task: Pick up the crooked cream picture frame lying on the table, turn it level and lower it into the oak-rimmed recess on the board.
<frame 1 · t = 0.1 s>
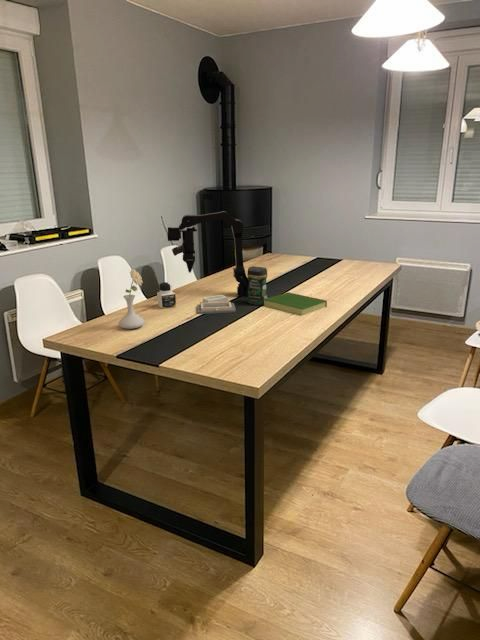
hand: (189, 270, 251), 15 cm above the table, tool pointing down, fingers open, 9 cm apart
coffee jar: (257, 303, 243), on the table
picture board: (216, 309, 234), on the table
medicine bottle: (167, 307, 240), on the table
hardcover book: (294, 307, 236), on the table
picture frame: (215, 303, 246), on the table
flower in vase: (133, 326, 211), on the table
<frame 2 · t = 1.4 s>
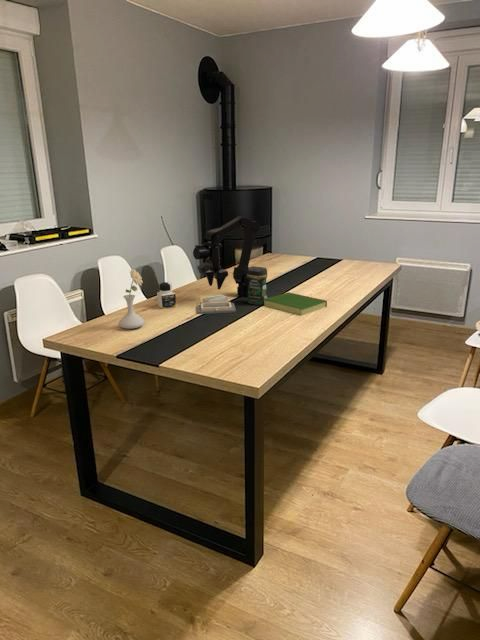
hand: (214, 287, 243), 8 cm above the table, tool pointing down, fingers open, 9 cm apart
nothing on the table moved.
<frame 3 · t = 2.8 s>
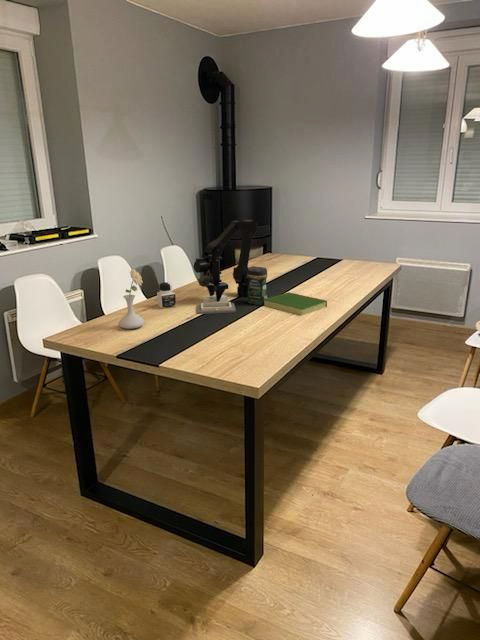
hand: (215, 300, 245), 1 cm above the table, tool pointing down, fingers closed on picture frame, 6 cm apart
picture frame: (215, 302, 246), on the table, touching gripper
everything else where it was.
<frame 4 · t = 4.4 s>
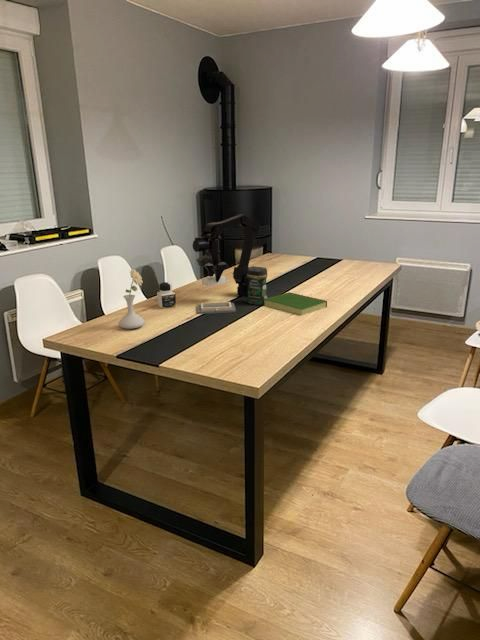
hand: (214, 280, 242), 11 cm above the table, tool pointing down, fingers closed on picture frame, 6 cm apart
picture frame: (214, 283, 243), point 10 cm above the table, touching gripper
everything else where it was.
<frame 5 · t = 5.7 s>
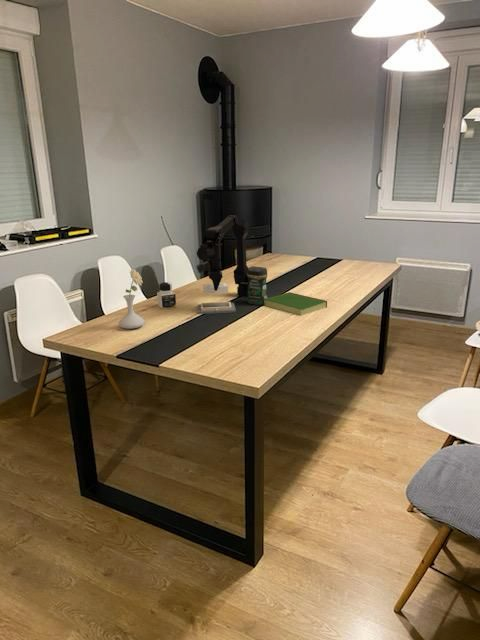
hand: (215, 288, 231), 10 cm above the table, tool pointing down, fingers closed on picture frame, 6 cm apart
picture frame: (215, 291, 231), point 9 cm above the table, touching gripper
everything else where it was.
when the fingers open (4 cm above the table, at t = 7.6 s): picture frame drops 1 cm, resting on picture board.
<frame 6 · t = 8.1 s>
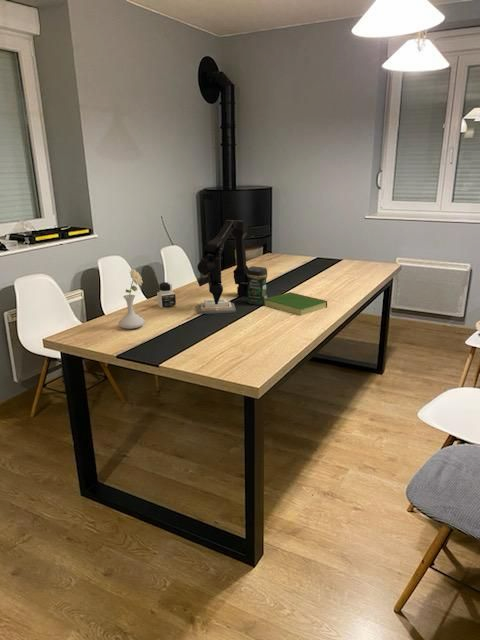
hand: (215, 301, 233), 4 cm above the table, tool pointing down, fingers open, 9 cm apart
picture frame: (216, 307, 233), point 1 cm above the table, touching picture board
everything else where it was.
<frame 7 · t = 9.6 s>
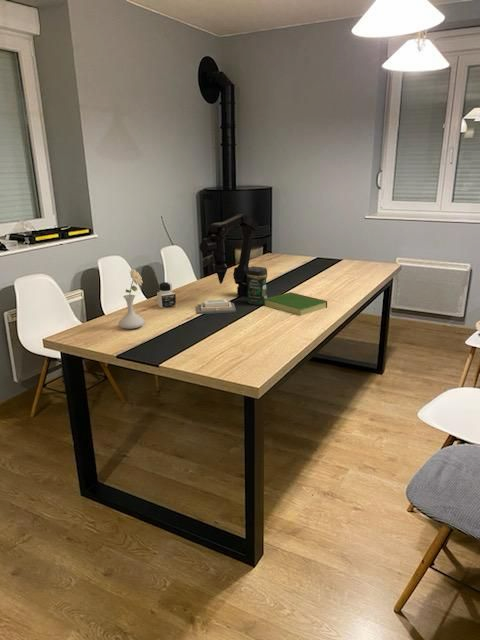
hand: (220, 281, 240), 11 cm above the table, tool pointing down, fingers open, 9 cm apart
nothing on the table moved.
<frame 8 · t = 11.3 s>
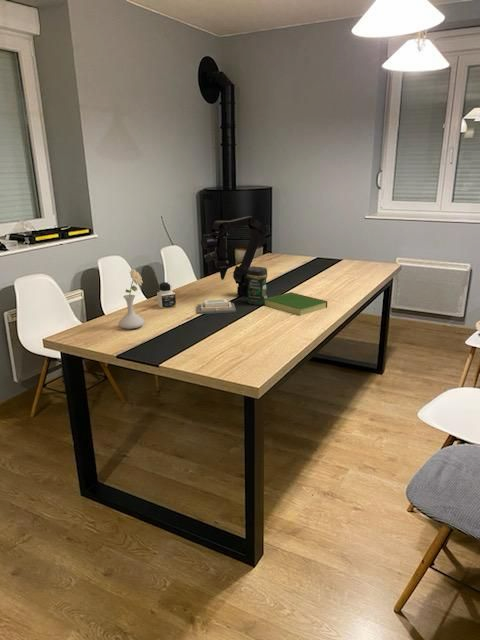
hand: (222, 277, 245), 12 cm above the table, tool pointing down, fingers open, 9 cm apart
nothing on the table moved.
at the end: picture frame 0.1 cm off-centre on the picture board, point 1.0 cm above the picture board's base; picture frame tilted 0°; the gripper is holding nothing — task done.
